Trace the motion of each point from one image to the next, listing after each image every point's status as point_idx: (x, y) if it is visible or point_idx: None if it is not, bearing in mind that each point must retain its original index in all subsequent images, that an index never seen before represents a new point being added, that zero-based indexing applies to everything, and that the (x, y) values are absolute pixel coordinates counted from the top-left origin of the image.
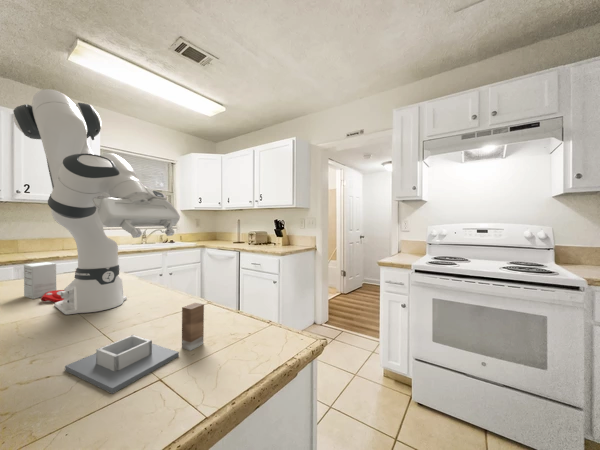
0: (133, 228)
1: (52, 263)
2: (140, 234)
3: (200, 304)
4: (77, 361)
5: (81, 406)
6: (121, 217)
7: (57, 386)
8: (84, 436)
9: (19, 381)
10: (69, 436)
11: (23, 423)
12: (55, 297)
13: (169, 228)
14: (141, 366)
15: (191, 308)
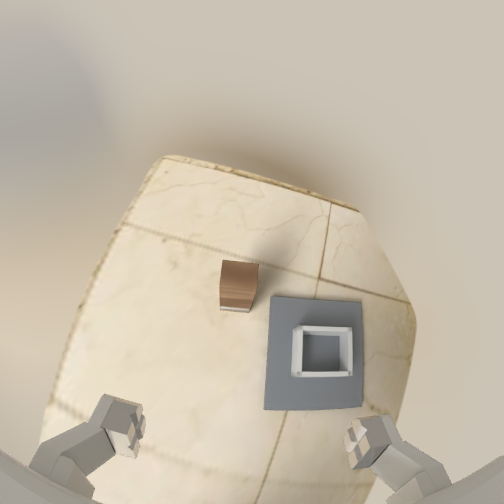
0: (402, 441)
1: None
2: (360, 418)
3: (226, 265)
4: (349, 405)
5: (379, 313)
6: (478, 472)
7: (377, 374)
8: (389, 273)
9: None
10: (395, 283)
11: (407, 334)
12: None
13: (115, 425)
14: (321, 312)
15: (254, 266)
